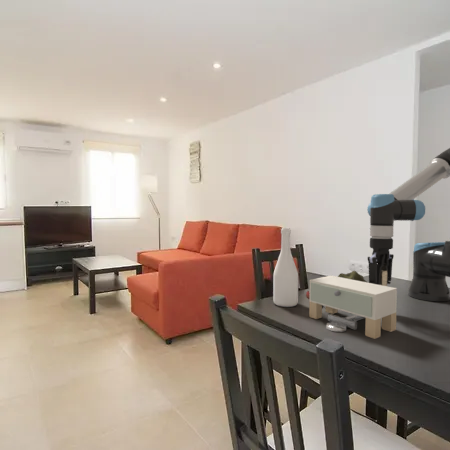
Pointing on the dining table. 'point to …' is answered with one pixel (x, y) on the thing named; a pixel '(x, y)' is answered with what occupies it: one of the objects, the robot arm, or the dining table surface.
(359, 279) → the decorative rock
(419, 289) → the robot arm
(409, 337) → the dining table surface
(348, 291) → the cabinet
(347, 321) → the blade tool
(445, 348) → the dining table surface
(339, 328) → the steel disc
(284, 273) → the wine bottle
